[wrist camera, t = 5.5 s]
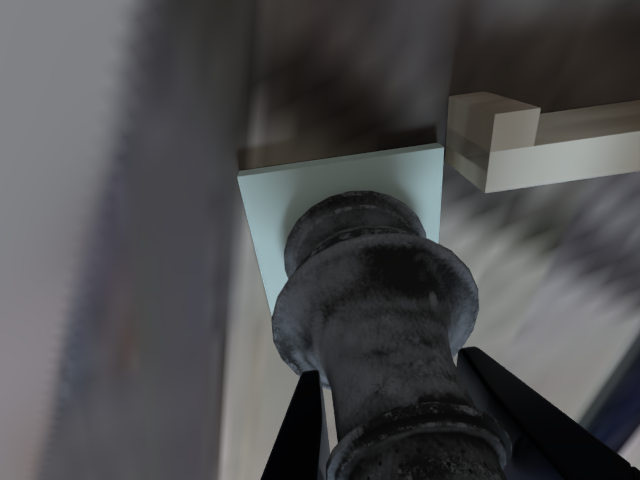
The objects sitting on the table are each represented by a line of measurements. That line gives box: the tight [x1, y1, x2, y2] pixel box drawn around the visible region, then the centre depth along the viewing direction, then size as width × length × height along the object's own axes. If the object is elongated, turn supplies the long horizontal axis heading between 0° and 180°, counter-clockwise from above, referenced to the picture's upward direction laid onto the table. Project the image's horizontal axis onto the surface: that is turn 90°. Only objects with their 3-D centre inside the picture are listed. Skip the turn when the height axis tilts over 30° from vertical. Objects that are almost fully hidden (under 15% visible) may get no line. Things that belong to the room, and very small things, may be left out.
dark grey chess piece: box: [271, 190, 512, 480], centre depth 8 cm, size 6×6×12 cm
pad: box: [237, 143, 444, 315], centre depth 14 cm, size 7×7×1 cm
